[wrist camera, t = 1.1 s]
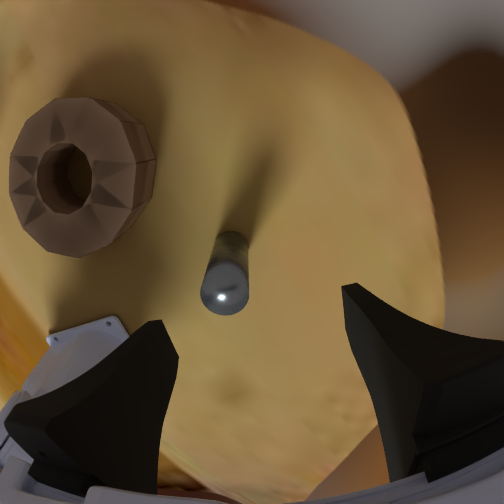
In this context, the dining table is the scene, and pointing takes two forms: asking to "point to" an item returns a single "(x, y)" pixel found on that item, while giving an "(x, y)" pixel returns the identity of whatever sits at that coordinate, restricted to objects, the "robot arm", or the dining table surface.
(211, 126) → the dining table surface
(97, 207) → the bead
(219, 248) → the dark grey capsule
